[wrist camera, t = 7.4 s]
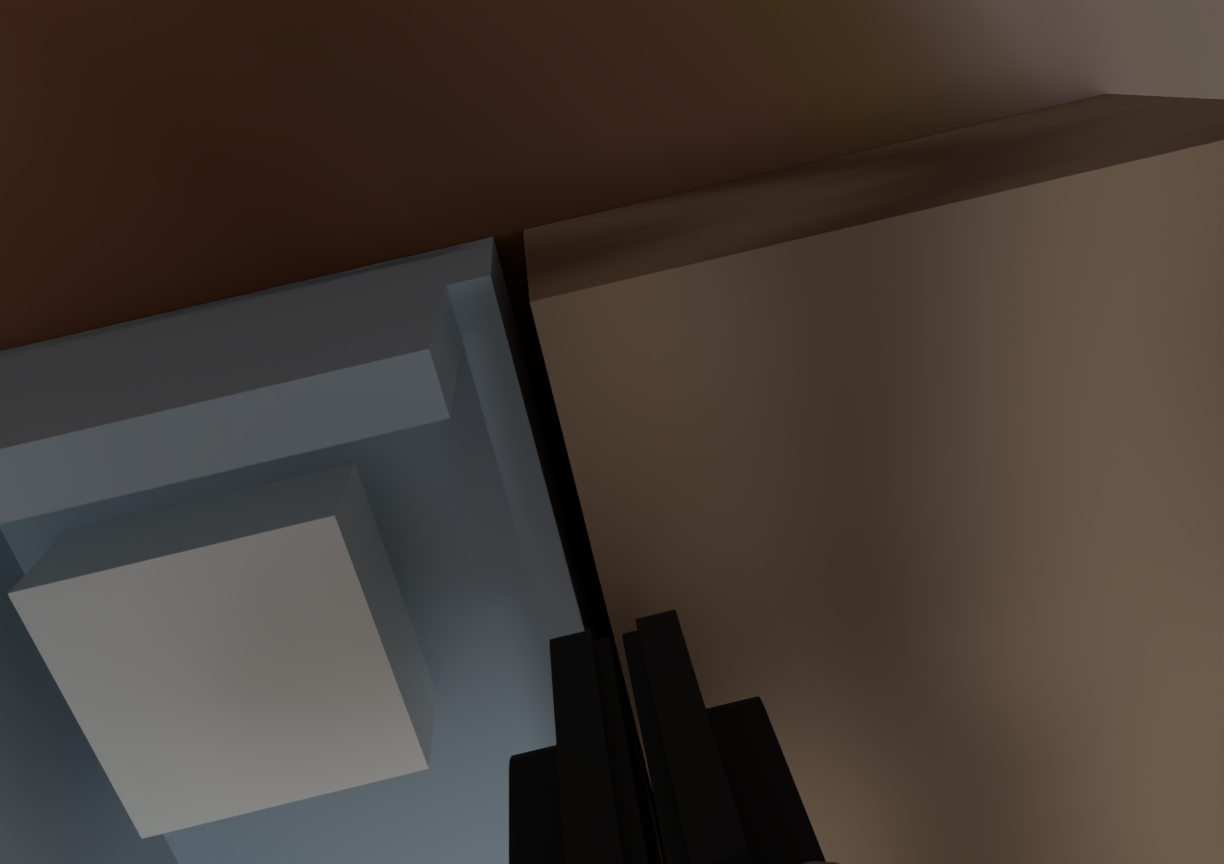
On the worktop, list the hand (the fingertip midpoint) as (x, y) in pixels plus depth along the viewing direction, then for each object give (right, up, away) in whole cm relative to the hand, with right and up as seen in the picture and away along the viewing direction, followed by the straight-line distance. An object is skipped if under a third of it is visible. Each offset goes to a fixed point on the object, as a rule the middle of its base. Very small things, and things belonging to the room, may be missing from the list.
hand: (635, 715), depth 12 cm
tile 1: (-6, 0, +3) cm, 7 cm away
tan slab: (+5, -1, +7) cm, 9 cm away
